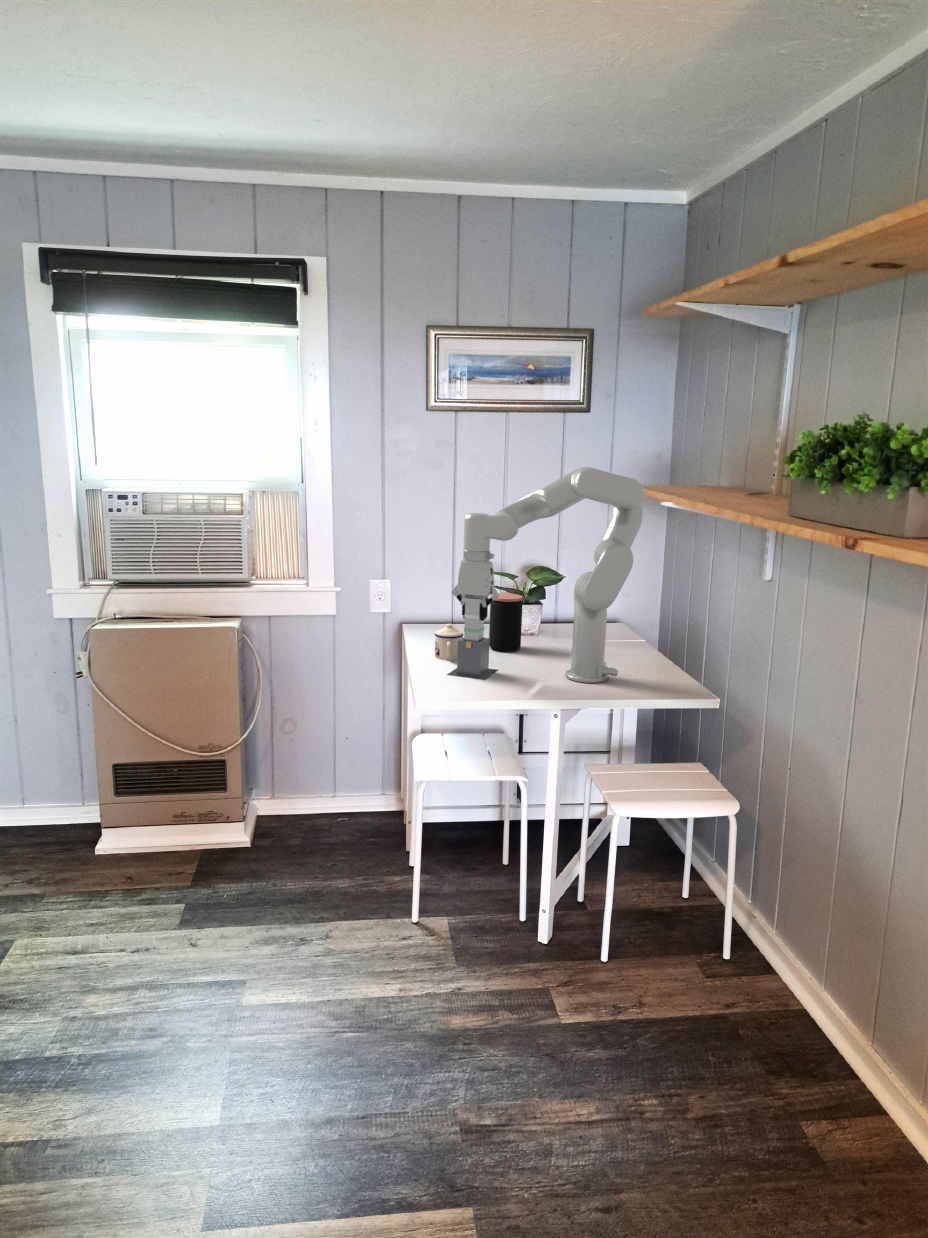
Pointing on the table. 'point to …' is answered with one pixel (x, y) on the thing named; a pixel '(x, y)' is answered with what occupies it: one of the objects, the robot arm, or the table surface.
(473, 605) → the column
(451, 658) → the teacup with lid
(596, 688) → the table surface
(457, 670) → the stand
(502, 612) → the coffee jar
